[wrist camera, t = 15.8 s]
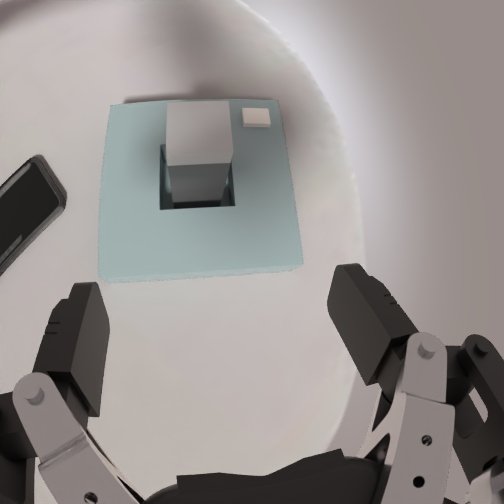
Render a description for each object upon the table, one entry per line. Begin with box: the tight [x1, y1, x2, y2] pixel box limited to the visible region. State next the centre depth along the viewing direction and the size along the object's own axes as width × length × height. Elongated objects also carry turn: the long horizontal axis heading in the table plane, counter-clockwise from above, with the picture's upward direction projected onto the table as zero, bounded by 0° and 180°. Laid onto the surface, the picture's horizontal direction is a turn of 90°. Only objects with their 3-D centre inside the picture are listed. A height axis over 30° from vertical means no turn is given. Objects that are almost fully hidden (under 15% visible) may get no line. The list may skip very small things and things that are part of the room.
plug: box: [166, 101, 233, 209], centre depth 23 cm, size 4×4×10 cm
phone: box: [0, 157, 66, 276], centre depth 24 cm, size 8×1×15 cm
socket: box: [98, 99, 304, 283], centre depth 26 cm, size 16×16×4 cm
